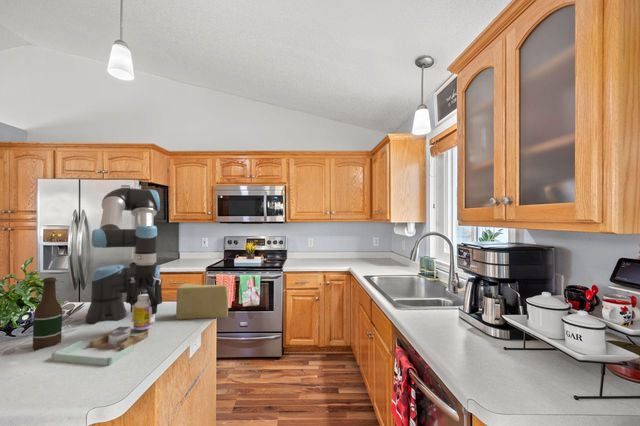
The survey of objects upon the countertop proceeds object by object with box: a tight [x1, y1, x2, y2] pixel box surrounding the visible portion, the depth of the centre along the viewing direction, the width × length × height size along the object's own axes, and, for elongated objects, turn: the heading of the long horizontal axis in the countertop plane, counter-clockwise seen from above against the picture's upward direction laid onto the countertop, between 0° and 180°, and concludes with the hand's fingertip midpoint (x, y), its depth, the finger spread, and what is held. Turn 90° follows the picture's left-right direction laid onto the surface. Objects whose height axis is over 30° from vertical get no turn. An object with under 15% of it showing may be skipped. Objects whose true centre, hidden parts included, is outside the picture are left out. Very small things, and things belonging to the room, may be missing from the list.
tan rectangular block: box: [175, 283, 229, 320], centre depth 143 cm, size 22×10×15 cm, turn 93°
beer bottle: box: [32, 276, 63, 352], centre depth 107 cm, size 8×8×24 cm
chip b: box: [108, 331, 128, 349], centre depth 107 cm, size 4×4×4 cm
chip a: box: [112, 326, 131, 339], centre depth 112 cm, size 4×4×4 cm
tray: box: [51, 340, 134, 366], centre depth 99 cm, size 10×20×3 cm, turn 83°
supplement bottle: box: [132, 293, 154, 331], centre depth 122 cm, size 7×7×13 cm
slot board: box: [88, 330, 149, 351], centre depth 110 cm, size 12×13×3 cm
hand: (143, 321), depth 122 cm, fingers closed on supplement bottle, 7 cm apart
